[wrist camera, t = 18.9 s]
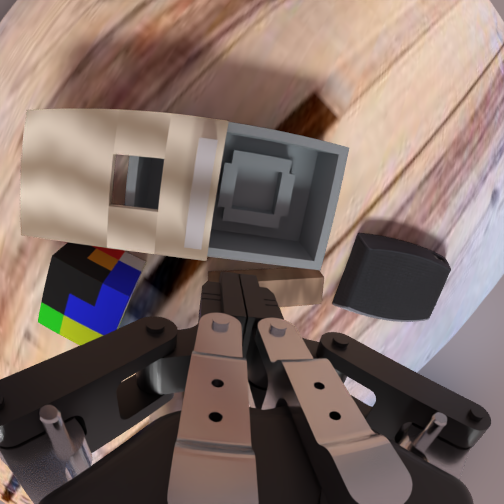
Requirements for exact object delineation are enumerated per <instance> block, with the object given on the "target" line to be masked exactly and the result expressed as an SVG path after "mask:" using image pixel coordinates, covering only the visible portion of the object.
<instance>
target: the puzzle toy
mask: <svg viewBox="0 0 504 504" xmlns="http://www.w3.org/2000/svg"><path fill="white" fill-rule="evenodd" d="M145 265H146V261H144V260H142V259H140V258H138V257H136V256H134V255H132V254H130V253H128V252H126V251H124V250H120V249H112V248H105V247H98V246H91V245H84V244H77V243H70V242H68V243H67V244H66V245H64V246H63V247H62V248H61V249H60V250H58V251H57V252H56V253H55V254H54V255H52V258H51V262H50V266H49V270H48V274H47V279H46V283H45V287H44V292H43V297H42V302H41V307H40V312H39V318H38V322H39V323H40V324H42V325H44V326H45V327H47V328H49V329H51V330H52V331H54V332H56V333H58V334H60V335H61V336H63V337H65V338H67V339H69V340H71V341H73V342H74V343H76V344H78V345H83V344H85V343H87V342H89V341H92V340H94V339H96V338H99V337H101V336H103V335H105V334H108V333H110V332H112V331H115V330H117V329H118V327H119V325H120V323H121V320H122V318H123V316H124V313H125V311H126V309H127V306H128V304H129V301H130V299H131V297H132V294H133V292H134V290H135V287H136V285H137V283H138V280H139V278H140V276H141V274H142V271H143V269H144V267H145Z"/></svg>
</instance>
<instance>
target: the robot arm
mask: <svg viewBox="0 0 504 504" xmlns="http://www.w3.org/2000/svg"><path fill="white" fill-rule="evenodd" d="M135 373H136V374H135ZM133 374H135V375H133ZM131 375H133V376H132V377H130V378H128V377H129V376H131ZM347 376H348V377H349V378H351V379H353V380H355V381H356V382H358V383H360V384H361V385H363V386H365V387H367V388H368V389H370V390H371V391H373V392H374V394H375V396H376V402H375V404H374V406H373V407H371V406H368V405H367V404H365V403H363V402H362V401H360V400H358V399H357V398H355V397H353V396H352V395H350V394H349V392H348V390H347V389H346V387H345V385H344V382H345V380H346V378H347ZM126 378H128V379H126ZM124 379H126V380H125V381H123V380H124ZM122 381H123V382H122ZM184 391H185V392H184ZM249 405H250V407H249ZM149 415H150V418H149V424H148V425H147V426H146V427H144V428H143V429H142V430H140V431H139V432H138V433H136V434H135V435H134V436H132V437H131V438H130V439H128V440H127V441H126V442H124V443H123V444H121V445H120V446H119V447H117V448H116V449H115V450H113V451H112V452H110V453H109V454H107V455H106V456H105V457H103V458H102V459H100V460H99V461H98V462H96V463H95V464H93V465H92V466H91V464H92V454H91V453H93V452H94V451H96V450H97V449H99V448H101V447H102V446H104V445H105V444H107V443H108V442H110V441H111V440H113V439H115V438H116V437H118V436H119V435H121V434H122V433H124V432H125V431H127V430H128V429H130V428H131V427H133V426H134V425H136V424H137V423H139V422H140V421H142V420H143V419H145V418H146V417H148V416H149ZM490 425H491V418H490V416H489V414H488V412H487V411H486V410H485V409H484V408H483V407H481V406H480V405H478V404H476V403H474V402H473V401H471V400H469V399H466V398H464V397H463V396H460V395H459V394H457V393H455V392H453V391H451V390H449V389H447V388H445V387H443V386H441V385H439V384H437V383H435V382H433V381H431V380H430V379H428V378H426V377H424V376H422V375H420V374H418V373H416V372H414V371H412V370H410V369H409V368H407V367H405V366H403V365H401V364H399V363H397V362H395V361H393V360H392V359H390V358H388V357H386V356H384V355H382V354H380V353H379V352H377V351H375V350H373V349H371V348H369V347H367V346H366V345H364V344H362V343H360V342H358V341H356V340H355V339H353V338H351V337H349V336H347V335H345V334H342V333H337V332H328V333H325V334H323V335H322V337H321V339H320V342H316V341H312V340H307V339H304V338H302V337H301V335H300V334H299V332H298V330H297V328H296V327H295V326H294V325H293V324H291V323H290V322H288V321H286V320H284V318H283V316H282V313H281V311H280V308H279V307H278V303H277V301H276V298H275V295H274V293H272V292H271V291H270V290H269V289H268V288H266V287H260V286H259V283H258V280H257V277H256V275H248V274H238V273H230V272H222V271H221V273H220V278H219V282H211V281H207V282H206V283H205V284H204V285H203V286H202V293H201V301H200V310H199V320H198V324H197V325H196V326H194V327H192V328H189V329H183V330H177V327H176V325H175V324H174V323H173V322H171V321H170V320H168V319H165V318H162V317H145V318H142V319H139V320H137V321H135V322H133V323H130V324H128V325H126V326H124V327H121V328H119V329H117V330H115V331H112V332H110V333H108V334H105V335H103V336H101V337H99V338H96V339H94V340H92V341H89V342H87V343H85V344H83V345H80V346H78V347H76V348H73V349H71V350H69V351H66V352H64V353H62V354H60V355H57V356H55V357H53V358H50V359H48V360H46V361H43V362H41V363H39V364H36V365H34V366H31V367H29V368H27V369H24V370H22V371H20V372H17V373H15V374H13V375H10V376H8V377H5V378H3V379H1V380H0V458H1V459H2V461H3V462H4V463H5V464H6V465H7V466H8V467H9V468H10V470H11V471H12V472H13V474H14V475H15V477H16V478H17V480H18V481H19V483H20V484H21V486H22V487H23V489H24V490H25V492H26V493H27V494H28V496H29V497H30V499H31V500H32V501H33V503H34V504H473V499H472V496H471V494H470V492H469V490H468V489H467V487H466V486H465V485H464V484H463V483H462V482H461V481H460V477H461V474H462V471H463V468H464V466H465V462H466V459H467V456H468V453H469V450H470V449H471V448H472V447H473V446H474V445H475V444H476V442H477V441H478V440H479V439H480V438H481V437H482V435H483V434H484V433H485V432H486V430H487V429H488V428H489V427H490Z"/></svg>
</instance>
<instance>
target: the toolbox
mask: <svg viewBox="0 0 504 504" xmlns="http://www.w3.org/2000/svg"><path fill="white" fill-rule="evenodd" d="M348 151H349V148H348V147H345V146H341V145H337V144H333V143H330V142H326V141H322V140H318V139H313V138H309V137H305V136H301V135H296V134H292V133H287V132H282V131H277V130H272V129H267V128H262V127H257V126H251V125H246V124H240V123H234V122H229V123H228V128H227V134H226V139H225V145H224V151H223V156H222V162H221V168H220V174H219V180H218V187H217V193H216V199H215V206H214V212H213V219H212V226H211V232H210V239H209V246H208V254H207V256H208V257H216V258H224V259H232V260H240V261H248V262H256V263H264V264H272V265H280V266H289V267H297V268H305V269H314V270H321V266H322V262H323V258H324V255H325V251H326V247H327V243H328V239H329V235H330V231H331V227H332V223H333V219H334V215H335V211H336V206H337V202H338V198H339V193H340V189H341V184H342V180H343V175H344V170H345V166H346V161H347V156H348ZM163 165H164V159H161V158H152V157H142V156H131V155H130V157H129V165H128V174H127V184H126V195H125V206H132V207H141V208H149V209H158V207H159V198H160V189H161V181H162V173H163Z"/></svg>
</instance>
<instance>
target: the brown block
mask: <svg viewBox="0 0 504 504" xmlns="http://www.w3.org/2000/svg"><path fill="white" fill-rule="evenodd" d="M222 272H230V273H238V274H248V275H256V277H257V280H258V283H259V286H260V287H266V288H268V289H269V290H270V291H271V292H272V293H274V295H275V298H276V301H277V303H278V307H289V306H302V305H314V304H321V302H322V293H323V284H324V276H323V275H322V274H321V272H320V271H319V270H314V269H305V268H297V267H295V268H275V269H255V270H233V271H222ZM220 273H221V271H210V272H208V281H211V282H219V278H220Z"/></svg>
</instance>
